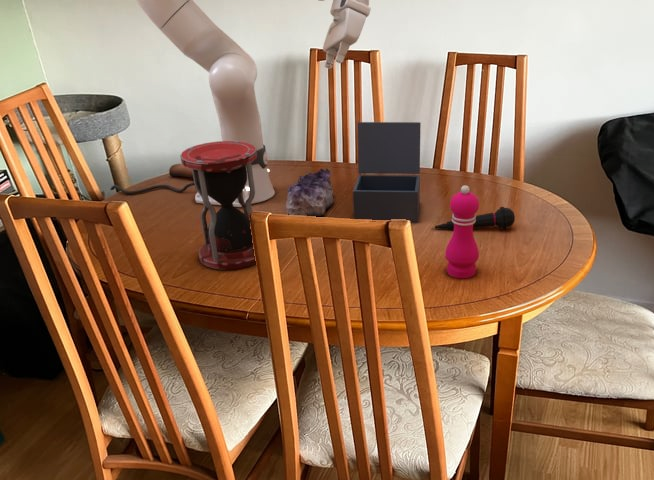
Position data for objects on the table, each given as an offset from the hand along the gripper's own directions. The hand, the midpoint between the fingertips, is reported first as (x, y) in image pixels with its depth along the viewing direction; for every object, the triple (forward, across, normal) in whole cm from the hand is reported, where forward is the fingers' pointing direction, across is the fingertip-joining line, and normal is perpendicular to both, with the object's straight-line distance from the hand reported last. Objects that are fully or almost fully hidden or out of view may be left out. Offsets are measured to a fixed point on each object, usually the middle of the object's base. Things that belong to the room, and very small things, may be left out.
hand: (333, 65), depth 157 cm
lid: (+15, +2, +20) cm, 25 cm away
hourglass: (+52, +11, -13) cm, 55 cm away
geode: (+36, -9, +8) cm, 38 cm away
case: (+32, +3, +24) cm, 40 cm away
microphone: (+29, +21, +42) cm, 55 cm away
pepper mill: (+41, +40, +31) cm, 65 cm away
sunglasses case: (+37, -46, -20) cm, 62 cm away
